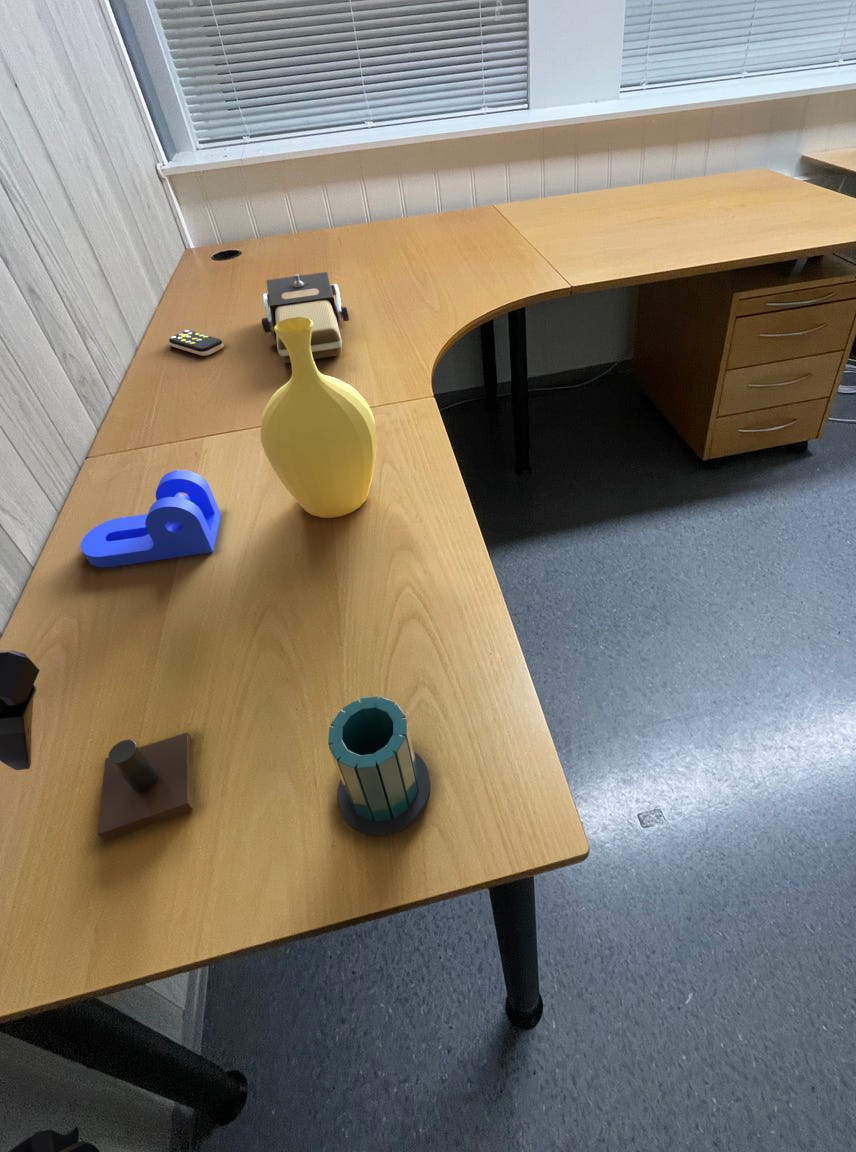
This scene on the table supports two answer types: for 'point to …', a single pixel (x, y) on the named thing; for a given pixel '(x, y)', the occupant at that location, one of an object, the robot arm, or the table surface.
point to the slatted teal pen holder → (374, 757)
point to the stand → (145, 785)
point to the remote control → (196, 343)
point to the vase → (318, 432)
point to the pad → (394, 824)
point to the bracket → (159, 526)
